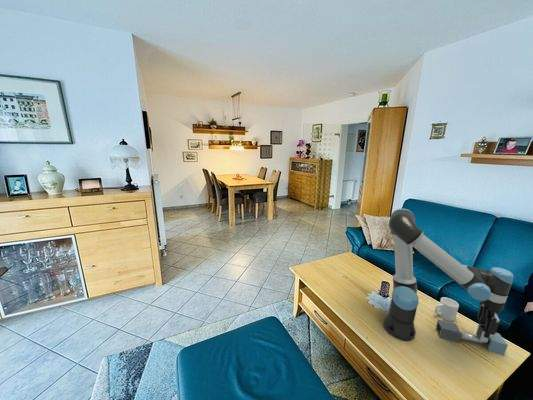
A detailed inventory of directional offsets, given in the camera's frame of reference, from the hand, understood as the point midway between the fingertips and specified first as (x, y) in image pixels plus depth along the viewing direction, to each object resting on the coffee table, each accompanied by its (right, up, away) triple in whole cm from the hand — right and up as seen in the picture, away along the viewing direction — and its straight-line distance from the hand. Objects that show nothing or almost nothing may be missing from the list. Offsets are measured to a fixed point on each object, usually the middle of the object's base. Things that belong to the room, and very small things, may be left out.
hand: (481, 338), depth 112 cm
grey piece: (-3, -2, +2) cm, 4 cm away
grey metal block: (-13, -2, +6) cm, 14 cm away
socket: (+5, -4, -1) cm, 6 cm away
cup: (-4, +1, +19) cm, 20 cm away
